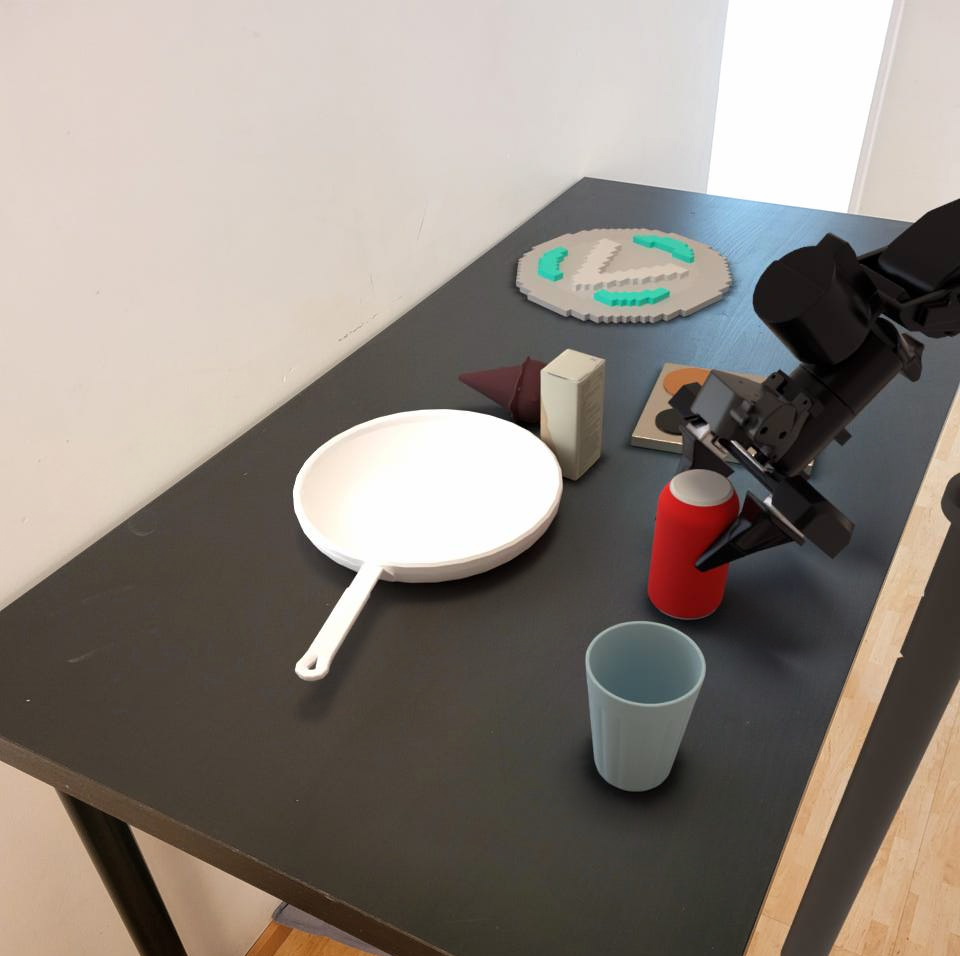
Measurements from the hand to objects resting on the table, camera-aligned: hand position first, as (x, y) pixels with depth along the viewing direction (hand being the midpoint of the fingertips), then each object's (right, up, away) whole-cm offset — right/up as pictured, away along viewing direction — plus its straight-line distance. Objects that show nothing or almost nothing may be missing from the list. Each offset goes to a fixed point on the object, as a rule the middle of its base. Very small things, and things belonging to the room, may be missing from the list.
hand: (677, 545), depth 74 cm
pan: (-23, 0, +11) cm, 25 cm away
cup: (-5, -17, -7) cm, 18 cm away
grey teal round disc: (+3, +42, +52) cm, 66 cm away
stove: (+11, +16, +25) cm, 32 cm away
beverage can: (+2, -4, +5) cm, 7 cm away
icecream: (-11, +16, +27) cm, 33 cm away
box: (-7, +10, +20) cm, 24 cm away
